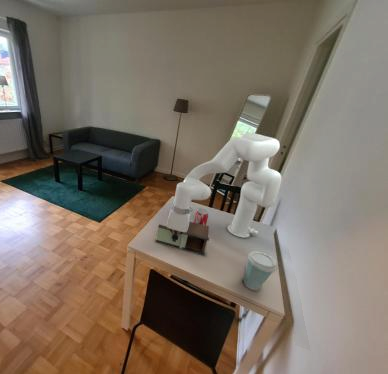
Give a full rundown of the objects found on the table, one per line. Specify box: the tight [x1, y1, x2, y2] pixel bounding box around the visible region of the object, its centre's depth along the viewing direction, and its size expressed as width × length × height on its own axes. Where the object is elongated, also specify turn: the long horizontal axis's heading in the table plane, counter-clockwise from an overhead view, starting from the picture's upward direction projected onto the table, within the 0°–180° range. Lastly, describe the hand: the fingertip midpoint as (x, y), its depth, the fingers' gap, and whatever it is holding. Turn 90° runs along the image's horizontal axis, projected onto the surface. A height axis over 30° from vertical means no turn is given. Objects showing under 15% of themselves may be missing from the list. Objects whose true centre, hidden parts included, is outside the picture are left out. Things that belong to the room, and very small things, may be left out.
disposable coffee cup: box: [242, 250, 278, 291], centre depth 89 cm, size 11×11×15 cm
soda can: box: [193, 208, 209, 226], centre depth 124 cm, size 7×7×12 cm
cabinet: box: [155, 221, 210, 256], centre depth 112 cm, size 25×12×10 cm, turn 71°
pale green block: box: [155, 227, 188, 248], centre depth 107 cm, size 15×4×8 cm, turn 71°
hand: (174, 240), depth 105 cm, fingers closed
